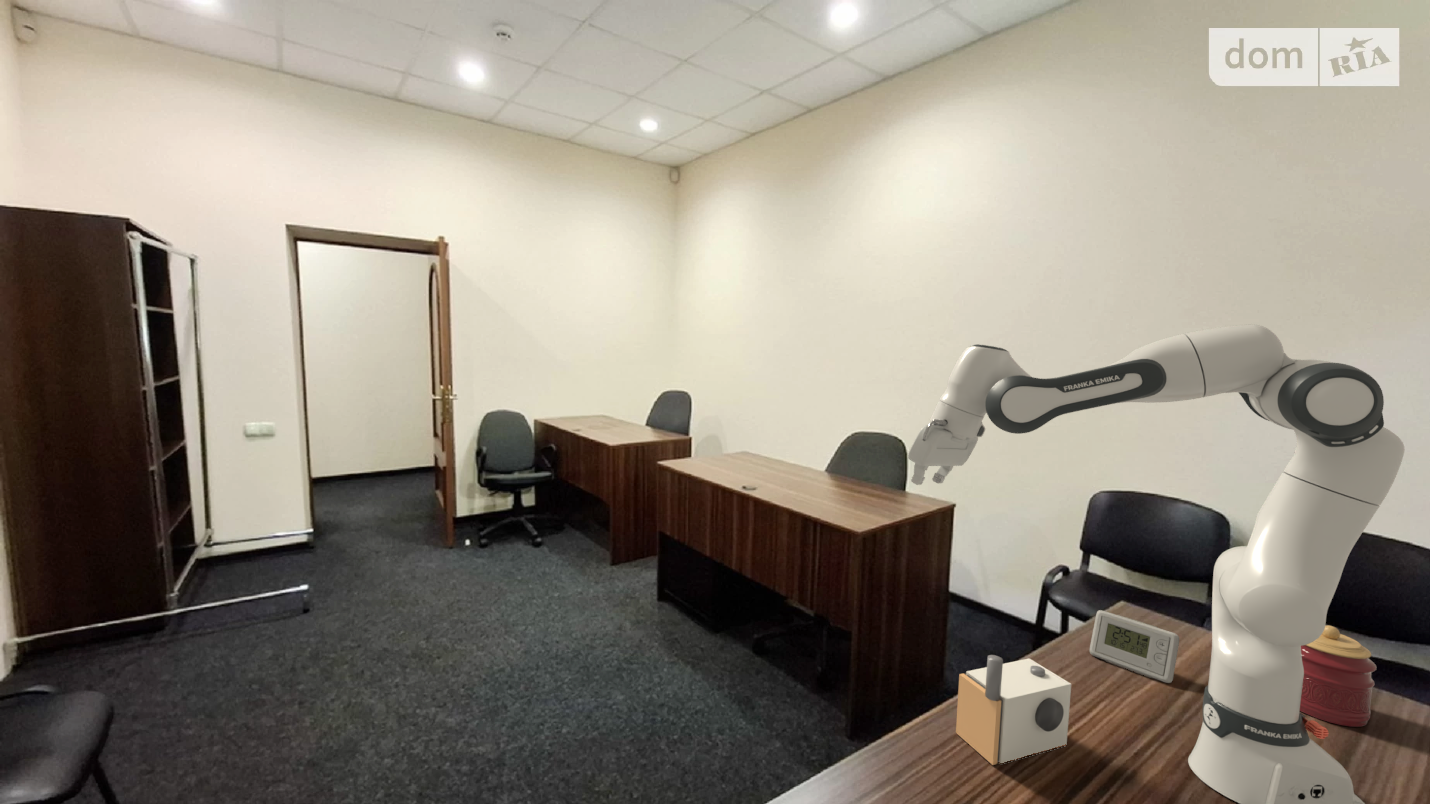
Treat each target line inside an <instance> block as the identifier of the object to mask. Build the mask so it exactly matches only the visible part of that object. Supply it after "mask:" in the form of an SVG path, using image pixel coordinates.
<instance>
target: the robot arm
mask: <svg viewBox="0 0 1430 804" xmlns="http://www.w3.org/2000/svg"><path fill="white" fill-rule="evenodd" d="M1229 393H1230V394H1231V393H1238V394H1239V396H1241V398H1242V399H1243V400H1244V402H1245V404H1246V405H1247V406H1248V408H1249V409H1250V410H1251V411H1252V412H1253V413H1254V414H1256V415H1257V416H1258V417H1260V418H1261V419H1264V420H1266V421H1268V422H1271V423H1273V424H1274V425H1278V426H1279V427H1282V428H1285V429H1287V430H1288V429H1289V430H1293V431H1294V434H1295V436H1296V445H1295V450H1294V454H1293V456H1292V457H1291V458H1290V459H1289V461H1288V463H1287V464H1286V466H1284V469H1283V471H1282V472H1281V474H1280V476H1278V479H1277V480H1276V482H1275V484H1273V485H1274V486H1273V487H1272V489H1271V490H1270V491H1269V493H1268V495H1267V497H1266V499H1265V500H1264V502H1263V504H1262V505H1261V507H1260V509H1258V510H1259V511H1258V512H1257V514H1256V519H1255V523H1254V526H1253V529H1252V532H1251V535H1250V538H1249V540H1248V543H1247V545H1241V546H1235V547H1231V548H1229V549H1226V550H1225V551H1223V552H1221V554H1220V555H1219V556H1218V558H1217V559H1216V561H1215V563H1214V566H1213V574H1212V575H1213V576H1212V597H1211V600H1212V601H1211V603H1212V604H1211V633H1212V634H1211V637H1212V638H1211V640H1212V641H1211V654H1210V655H1211V657H1210V664H1209V665H1210V666H1209V675H1208V676H1209V677H1208V685H1206V686H1204V687H1205V688H1204V691H1203V698H1202V699H1203V700H1202V723H1201V724H1202V725H1201V728H1200V731H1199V734H1198V738H1197V740H1196V743H1195V744H1194V747H1193V749H1192V750H1191V753H1190V754H1189V756H1188V758H1187V761H1188V765H1189V768H1190V769H1191V770H1192V772H1193V773H1194V774H1195V775H1196V777H1197V778H1198V779H1200V780H1201V781H1202V782H1203V783H1204V784H1206V785H1207V786H1208V787H1210V788H1211V789H1213V790H1214V791H1216V792H1218V793H1220V794H1221V795H1223V796H1224V797H1226V798H1228V799H1230V800H1232V801H1234V802H1236V803H1238V804H1366V803H1365V802H1364V801H1363V800H1362V799H1361V798H1360V797H1358V795H1356V794H1355V792H1354V785H1353V781H1352V778H1351V776H1350V774H1349V773H1348V771H1347V770H1346V768H1344V766H1343V765H1342V764H1341V763H1340V762H1339V761H1338V760H1337V759H1336V758H1334V757H1333V756H1332V755H1330V754H1329V753H1328V752H1327V751H1326V750H1325V749H1324V748H1322V747H1321V746H1320V745H1319V744H1318V743H1316V742H1315V741H1314V740H1313V739H1311V738H1310V736H1309V733H1311V734H1312V735H1314V736H1315V738H1317V739H1320V740H1325V739H1326V738H1328V737H1329V734H1330V733H1329V730H1328V728H1326V727H1325V726H1324V725H1321V724H1320V723H1319V722H1317V721H1316V720H1314V719H1312V720H1309V719H1307V718H1306V716H1305V715H1304V714H1303V713H1302V712H1301V711H1300V703H1301V694H1302V685H1303V677H1304V668H1303V663H1302V654H1301V646H1303V645H1306V644H1309V643H1311V642H1313V641H1315V640H1316V639H1318V638H1319V637H1320V636H1321V634H1322V633H1323V631H1324V629H1325V626H1326V624H1327V623H1326V622H1327V614H1328V611H1329V607H1330V605H1331V603H1332V601H1333V600H1332V599H1334V595H1335V593H1336V590H1337V588H1338V585H1339V582H1340V580H1341V577H1342V573H1343V571H1344V568H1345V565H1346V563H1347V560H1348V557H1349V556H1350V553H1351V552H1352V550H1353V548H1354V546H1355V545H1356V543H1357V541H1359V538H1360V537H1361V535H1362V533H1363V532H1364V531H1365V529H1366V528H1367V527H1368V525H1369V523H1370V522H1371V520H1372V519H1373V517H1374V515H1375V514H1376V513H1377V511H1378V509H1379V508H1380V507H1381V505H1382V503H1383V502H1384V500H1385V499H1386V497H1387V495H1388V493H1389V492H1390V489H1391V488H1392V486H1393V484H1394V482H1395V479H1396V477H1397V475H1398V472H1399V470H1400V467H1401V464H1402V461H1403V457H1404V454H1405V445H1404V442H1403V441H1402V439H1401V438H1400V437H1399V436H1398V435H1397V434H1395V432H1394V431H1391V430H1390V429H1388V428H1387V427H1384V426H1385V425H1384V424H1385V421H1384V416H1383V415H1384V414H1383V410H1384V405H1385V404H1384V403H1385V402H1384V401H1385V400H1384V394H1383V390H1382V388H1381V386H1380V385H1379V383H1378V382H1377V380H1375V378H1374V377H1372V375H1370V374H1368V373H1367V372H1366V371H1364V370H1362V369H1360V368H1357V367H1356V366H1352V365H1349V364H1346V363H1340V362H1331V361H1329V360H1328V361H1327V360H1321V359H1297V358H1290V357H1289V356H1288V355H1287V354H1286V353H1285V351H1284V347H1283V344H1282V342H1281V340H1280V339H1279V337H1278V336H1277V335H1276V334H1275V333H1274V332H1273V331H1272V330H1271V329H1269V328H1267V327H1265V326H1263V325H1260V324H1259V325H1258V324H1252V323H1251V324H1239V325H1227V326H1226V325H1225V326H1218V327H1211V328H1206V329H1200V330H1196V331H1190V332H1185V333H1181V334H1176V335H1173V336H1169V337H1165V338H1162V339H1159V340H1156V341H1153V342H1150V343H1148V344H1144V345H1142V346H1140V347H1138V348H1135V349H1134V350H1132V351H1131V352H1129V353H1128V354H1127V355H1126V356H1124V357H1122V358H1121V359H1119V360H1117V361H1115V362H1112V363H1110V364H1107V365H1105V366H1102V367H1098V368H1094V369H1089V370H1084V371H1080V372H1075V373H1072V374H1067V375H1062V376H1058V377H1049V378H1038V377H1034V376H1033V377H1032V376H1031V375H1030V374H1029V373H1028V372H1026V371H1025V370H1024V369H1023V368H1022V367H1021V366H1020V364H1019V363H1018V362H1016V361H1015V359H1014V358H1013V357H1012V355H1011V354H1010V351H1008V350H1007V349H1005V348H1002V347H997V346H994V345H986V344H980V343H979V344H972V345H970V346H968V347H966V348H965V349H964V350H963V351H962V353H961V354H960V355H959V357H958V359H957V360H956V363H955V365H954V366H953V368H952V370H951V372H950V375H949V376H948V380H947V385H946V388H945V390H944V392H943V393H942V395H941V396H940V397H939V399H938V401H937V404H936V405H935V408H934V410H933V412H932V414H931V417H930V419H929V420H930V423H928V424H925V425H923V426H922V427H921V429H920V430H919V431H918V433H917V435H916V437H915V438H914V440H913V442H912V445H911V446H910V448H909V451H908V453H907V458H908V460H909V461H912V462H913V463H914V465H913V467H914V468H913V476H912V477H911V479H910V480H911V483H913V484H914V485H917V486H920V485H922V484H923V483H924V481H925V480H926V477H925V474H926V471H927V470H928V469H929V467H938V470H937V472H934V474H933V476H932V479H931V480H932V481H933V482H934V483H936V484H943V483H944V481H945V480H946V477H947V476H948V475H949V474H950V472H951V471H952V470H953V468H954V467H957V466H958V467H959V466H964V464H966V462H967V461H968V460H969V458H970V456H971V455H972V452H973V451H974V449H975V447H976V446H977V443H978V440H979V438H982V437H983V436H984V434H985V432H986V427H985V426H984V424H983V420H984V417H985V415H986V414H987V417H988V419H989V420H990V421H991V423H992V424H993V425H995V426H996V427H997V428H998V429H1000V430H1002V431H1003V432H1004V431H1005V432H1006V433H1009V434H1019V435H1020V434H1028V433H1031V432H1033V431H1036V430H1038V429H1039V428H1041V427H1043V426H1044V425H1046V424H1048V423H1049V422H1050V421H1052V420H1053V419H1055V418H1058V417H1060V416H1063V415H1067V414H1071V413H1074V412H1081V411H1085V410H1089V409H1095V408H1100V407H1103V406H1109V405H1115V404H1121V403H1122V404H1123V403H1150V404H1151V403H1172V402H1173V403H1174V402H1182V401H1183V402H1184V401H1189V400H1197V399H1202V398H1206V397H1207V398H1208V397H1212V396H1217V395H1221V394H1229ZM1308 732H1309V733H1308Z"/></svg>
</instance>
